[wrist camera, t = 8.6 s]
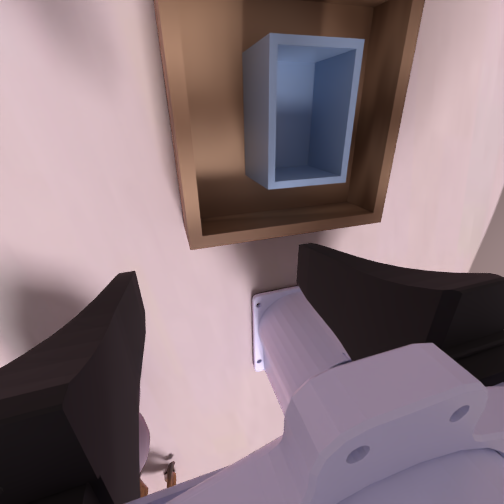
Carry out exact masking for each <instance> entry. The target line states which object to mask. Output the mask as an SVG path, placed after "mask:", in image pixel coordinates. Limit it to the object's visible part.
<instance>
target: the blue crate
mask: <svg viewBox="0 0 504 504" xmlns="http://www.w3.org/2000/svg"><path fill="white" fill-rule="evenodd" d="M364 41H365V39H355V38H340V37H325V36H310V35H294V34H279V33H269V34H267V35H266V36H265V37H263V38H262V39H261V40H259V41H258V42H256V43H255V44H254V45H252V46H251V47H250V48H248V49H247V50H246V51H244V52H243V53H242V65H243V103H244V142H245V175H246V176H248V177H249V178H251V179H252V180H254V181H255V182H257V183H258V184H260V185H262V186H263V187H265V188H266V189H268V190H269V189H280V188H291V187H302V186H312V185H323V184H334V183H344V182H346V175H347V168H348V160H349V153H350V145H351V138H352V131H353V123H354V116H355V108H356V101H357V93H358V86H359V78H360V71H361V63H362V56H363V48H364Z"/></svg>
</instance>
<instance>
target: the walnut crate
mask: <svg viewBox="0 0 504 504" xmlns="http://www.w3.org/2000/svg"><path fill="white" fill-rule="evenodd" d="M424 2H425V0H154V7H155V15H156V22H157V29H158V37H159V44H160V51H161V59H162V66H163V73H164V81H165V88H166V95H167V103H168V110H169V117H170V125H171V132H172V139H173V147H174V154H175V161H176V169H177V176H178V183H179V191H180V198H181V205H182V213H183V220H184V227H185V231H186V235H187V239H188V242H189V246H190V250H195V249H201V248H208V247H215V246H222V245H229V244H235V243H242V242H249V241H256V240H263V239H269V238H276V237H283V236H290V235H297V234H303V233H310V232H317V231H324V230H331V229H337V228H344V227H351V226H358V225H365V224H371V223H378V222H381V218H382V213H383V208H384V203H385V198H386V193H387V188H388V183H389V178H390V173H391V168H392V163H393V158H394V153H395V148H396V143H397V138H398V133H399V128H400V123H401V118H402V112H403V107H404V102H405V97H406V92H407V87H408V82H409V77H410V72H411V67H412V62H413V57H414V52H415V47H416V42H417V37H418V32H419V27H420V22H421V17H422V12H423V7H424ZM269 33H279V34H294V35H310V36H325V37H340V38H355V39H365V41H364V48H363V56H362V63H361V71H360V78H359V86H358V93H357V101H356V108H355V116H354V123H353V131H352V138H351V145H350V153H349V160H348V168H347V175H346V182H344V183H334V184H323V185H312V186H302V187H291V188H280V189H269V190H268V189H266V188H265V187H263V186H262V185H260V184H258V183H257V182H255V181H254V180H252V179H251V178H249V177H248V176H246V175H245V142H244V103H243V65H242V53H243V52H244V51H246V50H247V49H248V48H250V47H251V46H252V45H254V44H255V43H256V42H258V41H259V40H261V39H262V38H263V37H265V36H266V35H267V34H269Z"/></svg>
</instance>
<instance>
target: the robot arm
mask: <svg viewBox="0 0 504 504" xmlns="http://www.w3.org/2000/svg"><path fill="white" fill-rule="evenodd" d="M297 284H298V286H295V287H290V288H285V289H280V290H275V291H270V292H265V293H260V294H256V295H254V296H253V298H252V312H253V356H254V369H255V371H257V372H259V371H263V370H265V372H266V374H267V376H268V379H269V381H270V383H271V386H272V388H273V390H274V393H275V395H276V397H277V399H278V402H279V404H280V406H281V409H282V411H283V413H284V415H285V418H284V433H283V435H282V436H280V437H278V438H277V439H275V440H273V441H271V442H270V443H268V444H266V445H265V446H263V447H261V448H259V449H258V450H256V451H254V452H253V453H251V454H249V455H247V456H246V457H244V458H242V459H241V460H239V461H237V462H235V463H234V464H232V465H230V466H227V467H224V468H221V469H219V470H216V471H213V472H210V473H208V474H205V475H202V476H199V477H196V478H194V479H191V480H188V481H185V482H183V483H180V484H177V485H174V486H172V487H169V488H166V489H163V490H161V491H158V492H155V493H152V494H150V495H147V496H144V497H140V460H139V389H140V377H141V369H142V360H143V352H144V343H145V334H146V328H145V310H144V306H143V301H142V297H141V293H140V289H139V285H138V281H137V276H136V272H135V271H131V272H125V273H119V274H118V275H117V276H116V277H115V278H114V279H113V280H112V281H111V282H110V283H109V284H108V285H107V287H106V288H105V289H104V290H103V291H102V292H101V293H100V294H99V295H98V296H97V297H96V298H95V299H94V300H93V301H92V302H91V303H90V304H89V305H88V306H87V307H86V308H85V309H84V310H82V311H81V312H80V313H79V314H78V315H77V316H76V317H75V318H74V319H72V320H71V321H70V322H69V323H68V324H66V325H65V326H64V327H62V328H61V329H60V330H59V331H57V332H56V333H55V334H53V335H52V336H50V337H49V338H48V339H46V340H45V341H43V342H42V343H40V344H39V345H37V346H36V347H34V348H32V349H31V350H29V351H28V352H26V353H25V354H23V355H22V356H20V357H18V358H17V359H15V360H13V361H12V362H10V363H8V364H7V365H5V366H3V367H1V368H0V504H504V277H501V276H499V275H496V274H491V273H451V272H436V271H425V270H418V269H410V268H403V267H398V266H393V265H388V264H383V263H378V262H374V261H371V260H367V259H363V258H360V257H356V256H353V255H350V254H347V253H344V252H341V251H338V250H334V249H331V248H328V247H325V246H322V245H318V244H313V243H308V244H302V245H299V252H298V268H297ZM257 303H260V304H259V305H256V304H257ZM259 359H260V360H259Z"/></svg>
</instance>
